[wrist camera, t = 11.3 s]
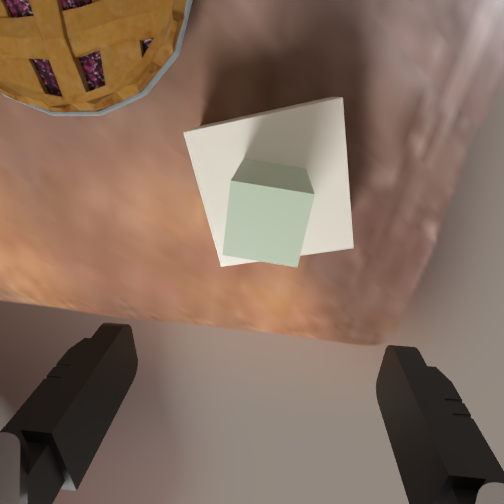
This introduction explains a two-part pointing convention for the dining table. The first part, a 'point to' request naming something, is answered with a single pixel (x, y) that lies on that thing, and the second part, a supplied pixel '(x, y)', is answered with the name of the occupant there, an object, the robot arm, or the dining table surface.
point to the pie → (87, 51)
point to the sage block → (268, 212)
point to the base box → (283, 153)
